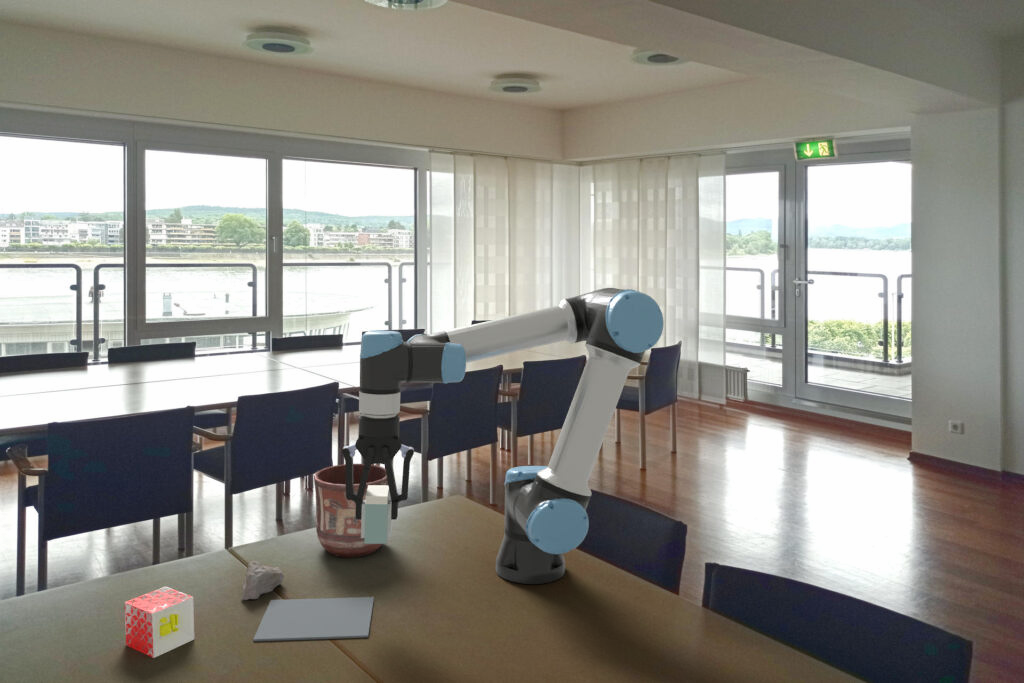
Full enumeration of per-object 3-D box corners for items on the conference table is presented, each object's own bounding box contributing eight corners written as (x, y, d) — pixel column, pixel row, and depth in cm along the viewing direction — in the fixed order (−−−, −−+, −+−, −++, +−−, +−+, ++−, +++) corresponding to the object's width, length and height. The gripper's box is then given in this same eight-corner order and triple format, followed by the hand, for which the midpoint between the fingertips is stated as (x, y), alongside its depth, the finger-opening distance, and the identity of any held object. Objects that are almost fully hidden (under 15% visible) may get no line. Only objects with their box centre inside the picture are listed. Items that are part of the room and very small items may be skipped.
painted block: (387, 530, 153) (389, 485, 152) (386, 543, 146) (387, 496, 145) (367, 530, 153) (368, 485, 152) (364, 543, 146) (365, 496, 145)
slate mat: (373, 598, 157) (373, 596, 157) (368, 637, 142) (368, 635, 142) (270, 601, 155) (270, 599, 155) (253, 641, 139) (253, 639, 139)
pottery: (299, 546, 185) (299, 471, 183) (364, 529, 197) (364, 459, 194) (338, 570, 172) (338, 489, 170) (405, 550, 184) (406, 475, 182)
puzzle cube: (153, 658, 133) (152, 613, 132) (126, 645, 137) (124, 602, 137) (194, 639, 140) (193, 596, 139) (167, 627, 144) (166, 586, 143)
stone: (274, 602, 155) (273, 573, 155) (232, 602, 155) (231, 573, 155) (286, 581, 165) (286, 554, 165) (247, 581, 165) (247, 554, 164)
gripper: (425, 410, 152) (421, 529, 154) (334, 409, 150) (332, 528, 152) (425, 418, 144) (421, 542, 147) (330, 417, 142) (327, 542, 145)
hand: (376, 535), depth 149 cm, fingers closed on painted block, 4 cm apart
